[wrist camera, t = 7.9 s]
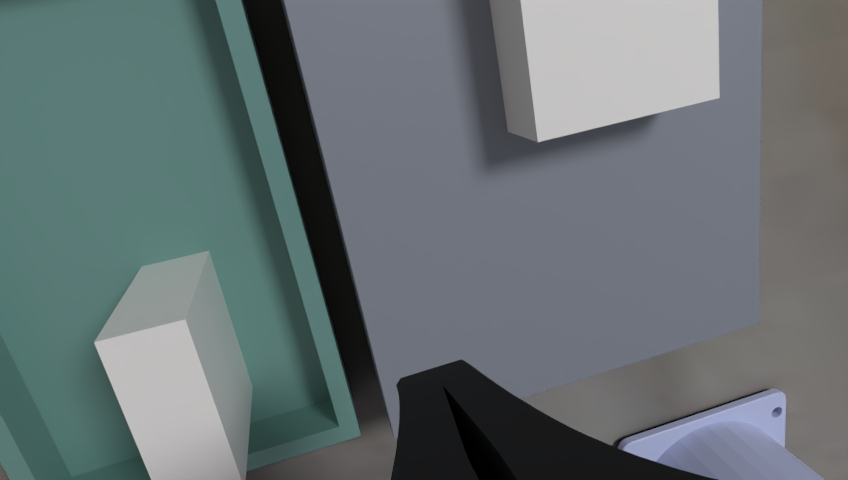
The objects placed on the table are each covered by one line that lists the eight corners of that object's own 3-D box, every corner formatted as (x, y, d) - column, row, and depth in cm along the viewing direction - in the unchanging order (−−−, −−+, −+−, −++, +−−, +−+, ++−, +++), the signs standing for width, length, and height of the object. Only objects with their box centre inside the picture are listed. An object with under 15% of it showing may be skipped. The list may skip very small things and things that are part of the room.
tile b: (670, 92, 17) (719, 98, 15) (507, 131, 16) (538, 142, 14) (662, -104, 15) (716, -125, 13) (479, -71, 14) (509, -89, 12)
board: (692, 285, 23) (759, 323, 20) (377, 379, 21) (394, 438, 18) (678, -146, 18) (764, -188, 15) (261, -76, 16) (257, -107, 13)
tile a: (245, 489, 15) (165, 513, 15) (252, 386, 20) (191, 403, 20) (185, 319, 14) (94, 342, 13) (209, 250, 18) (141, 266, 18)
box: (353, 399, 21) (361, 436, 19) (65, 486, 20) (40, 536, 18) (218, -90, 16) (210, -111, 14) (-194, -23, 14) (-273, -36, 12)
